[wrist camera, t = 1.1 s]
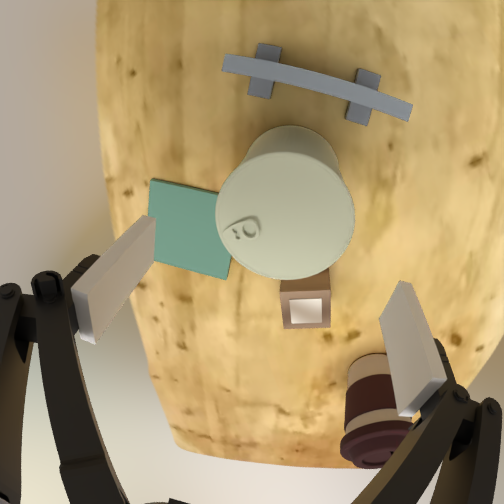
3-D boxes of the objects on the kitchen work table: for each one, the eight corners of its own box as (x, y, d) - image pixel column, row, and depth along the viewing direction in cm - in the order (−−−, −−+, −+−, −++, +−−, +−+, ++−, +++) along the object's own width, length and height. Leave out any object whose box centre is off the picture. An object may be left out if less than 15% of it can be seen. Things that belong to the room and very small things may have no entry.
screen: (254, 43, 24) (231, 26, 16) (383, 77, 24) (420, 78, 16) (243, 93, 27) (216, 99, 19) (370, 126, 27) (399, 148, 18)
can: (230, 140, 30) (190, 177, 19) (324, 114, 27) (338, 135, 17) (261, 224, 34) (240, 295, 23) (348, 203, 31) (367, 270, 21)
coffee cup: (332, 386, 45) (331, 473, 33) (347, 343, 40) (353, 443, 28) (391, 388, 44) (401, 471, 32) (414, 346, 39) (435, 439, 27)
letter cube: (283, 264, 36) (279, 293, 31) (328, 262, 35) (330, 290, 30) (286, 300, 38) (283, 329, 34) (328, 298, 37) (330, 328, 33)
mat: (152, 178, 33) (150, 180, 32) (243, 198, 32) (242, 201, 32) (148, 255, 38) (146, 258, 37) (227, 277, 38) (226, 280, 37)
